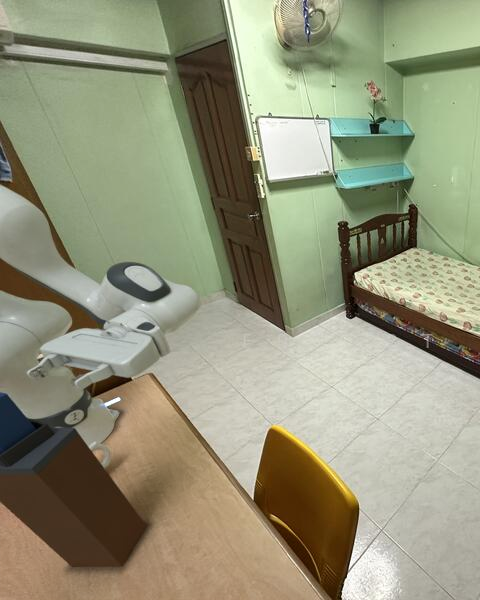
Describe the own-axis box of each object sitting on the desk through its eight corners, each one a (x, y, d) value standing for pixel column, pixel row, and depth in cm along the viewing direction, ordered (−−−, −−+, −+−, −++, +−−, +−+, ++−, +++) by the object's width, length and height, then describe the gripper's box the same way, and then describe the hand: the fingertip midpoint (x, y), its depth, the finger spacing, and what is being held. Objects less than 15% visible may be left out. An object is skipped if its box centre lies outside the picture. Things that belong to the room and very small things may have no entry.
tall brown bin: (71, 567, 62) (-49, 458, 45) (101, 526, 68) (5, 417, 51) (122, 566, 62) (21, 458, 45) (147, 526, 69) (67, 417, 52)
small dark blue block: (0, 456, 48) (-44, 411, 43) (31, 434, 51) (-6, 390, 47) (12, 459, 48) (-31, 414, 43) (43, 437, 51) (6, 393, 46)
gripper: (83, 315, 65) (-5, 357, 53) (166, 328, 61) (91, 377, 49) (97, 339, 68) (17, 384, 56) (177, 353, 64) (109, 405, 52)
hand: (52, 381), depth 52 cm, fingers open, 8 cm apart
